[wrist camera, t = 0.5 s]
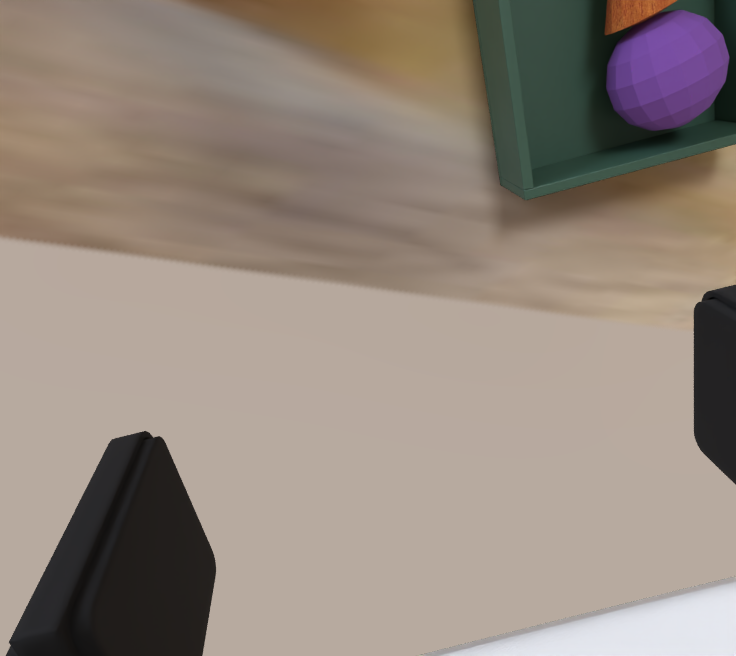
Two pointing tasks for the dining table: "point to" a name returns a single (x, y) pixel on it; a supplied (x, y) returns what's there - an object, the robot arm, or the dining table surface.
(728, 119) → the tray
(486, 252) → the dining table surface
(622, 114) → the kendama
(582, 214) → the dining table surface
